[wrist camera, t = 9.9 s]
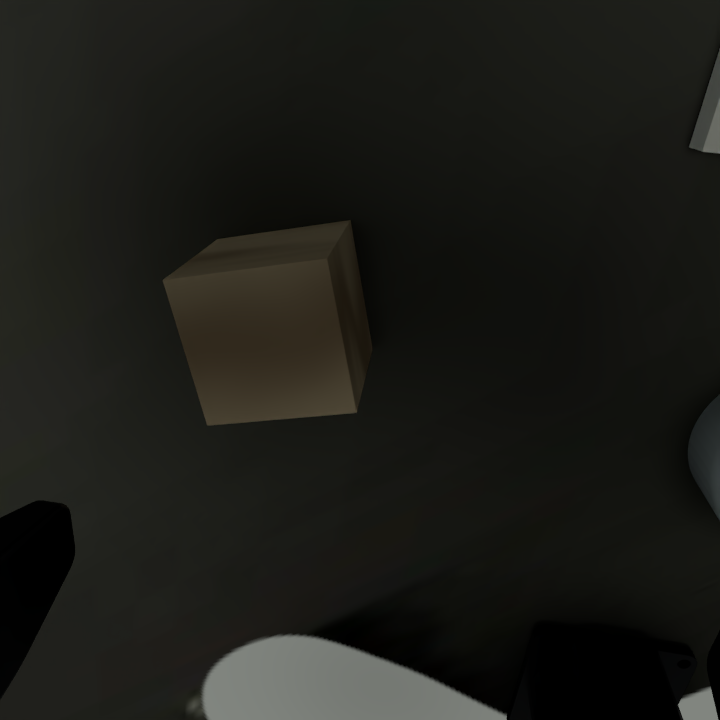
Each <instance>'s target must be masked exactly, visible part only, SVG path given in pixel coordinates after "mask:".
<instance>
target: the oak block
mask: <svg viewBox="0 0 720 720" xmlns="http://www.w3.org/2000/svg"><path fill="white" fill-rule="evenodd" d="M163 283H164V286H165V290H166V293H167V296H168V299H169V303H170V306H171V309H172V312H173V316H174V319H175V322H176V325H177V329H178V332H179V335H180V338H181V342H182V345H183V348H184V351H185V355H186V358H187V361H188V364H189V368H190V371H191V374H192V377H193V381H194V384H195V387H196V390H197V394H198V397H199V400H200V403H201V407H202V410H203V413H204V416H205V420H206V423H207V426H209V425H221V424H232V423H244V422H256V421H267V420H279V419H291V418H303V417H314V416H326V415H338V414H349V413H357V409H358V405H359V401H360V398H361V394H362V390H363V386H364V382H365V378H366V374H367V370H368V366H369V362H370V358H371V354H372V350H373V348H372V342H371V337H370V331H369V325H368V319H367V313H366V307H365V302H364V296H363V290H362V284H361V278H360V273H359V267H358V261H357V255H356V249H355V243H354V238H353V232H352V226H351V220H348V221H341V222H334V223H327V224H320V225H313V226H306V227H299V228H292V229H285V230H278V231H271V232H264V233H257V234H250V235H243V236H236V237H229V238H222V239H217V240H216V241H214V242H213V243H212V244H210V245H209V246H208V247H206V248H205V249H204V250H202V251H201V252H200V253H198V254H197V255H196V256H194V257H193V258H192V259H190V260H189V261H188V262H186V263H185V264H184V265H182V266H181V267H180V268H178V269H177V270H176V271H174V272H173V273H172V274H170V275H169V276H168V277H166V278H165V279H164V280H163Z"/></svg>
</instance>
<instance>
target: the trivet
mask: <svg viewBox="0 0 720 720" xmlns="http://www.w3.org/2000/svg"><path fill="white" fill-rule="evenodd" d="M689 147H690V148H693V149H696V150H699V151H702V152H711V153H720V49H719V53H718V56H717V59H716V62H715V65H714V69H713V72H712V75H711V78H710V81H709V85H708V88H707V91H706V94H705V97H704V101H703V104H702V107H701V110H700V113H699V117H698V120H697V123H696V126H695V129H694V133H693V136H692V139H691V142H690V145H689Z"/></svg>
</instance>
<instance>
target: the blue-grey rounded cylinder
mask: <svg viewBox="0 0 720 720" xmlns="http://www.w3.org/2000/svg"><path fill="white" fill-rule="evenodd" d="M688 462H689V467H690V470H691V473H692V476H693V478H694V479H695V481H696V483H697V484H698V486H699V488H700V489H701V491H702V493H703V494H704V496H705V497H706V499H707V501H708V502H709V504H710V506H711V507H712V509H713V511H714V512H715V514H716V516H717V517H718V519H719V520H720V394H719V395H718V396H717V397H716V398H715V399H714V400H713V401H712V402H711V403H710V404H709V405H708V406H707V408H706V409H705V410H704V411H703V412H702V414H701V415H700V417H699V418H698V420H697V422H696V424H695V426H694V428H693V430H692V433H691V436H690V439H689V445H688Z"/></svg>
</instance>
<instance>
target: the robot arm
mask: <svg viewBox="0 0 720 720" xmlns="http://www.w3.org/2000/svg"><path fill="white" fill-rule="evenodd" d="M74 556H75V543H74V535H73V528H72V521H71V514H70V510H69V508H68V507H67V506H66V505H64V504H62V503H56V502H49V501H43V500H41V501H35V502H32V503H30V504H28V505H26V506H24V507H22V508H20V509H17V510H15V511H13V512H11V513H9V514H7V515H5V516H3V517H1V518H0V699H1V698H2V696H3V695H4V693H5V691H6V690H7V688H8V687H9V685H10V683H11V682H12V680H13V678H14V677H15V675H16V673H17V672H18V670H19V668H20V667H21V665H22V663H23V661H24V659H25V657H26V655H27V653H28V652H29V650H30V648H31V646H32V644H33V642H34V640H35V638H36V636H37V634H38V632H39V630H40V628H41V626H42V624H43V622H44V620H45V618H46V616H47V614H48V612H49V610H50V608H51V606H52V604H53V602H54V600H55V598H56V596H57V594H58V592H59V590H60V588H61V586H62V584H63V582H64V580H65V578H66V576H67V574H68V572H69V570H70V568H71V566H72V563H73V560H74ZM696 667H697V661H696V658H695V656H694V654H693V652H692V651H691V650H690V649H689V648H685V647H680V646H674V645H668V644H662V643H656V642H650V641H644V640H638V639H632V638H626V637H620V636H614V635H608V634H602V633H596V632H590V631H584V630H578V629H572V628H566V627H560V626H554V625H547V624H543V625H539V626H537V627H536V628H535V629H534V630H533V633H532V636H531V639H530V642H529V646H528V649H527V652H526V655H525V659H524V662H523V665H522V668H521V672H520V675H519V678H518V681H517V685H516V688H515V691H514V694H513V697H512V701H511V704H510V707H509V710H508V714H507V720H683V718H682V715H681V712H680V710H679V707H678V704H679V702H680V700H681V698H682V695H683V693H684V691H685V689H686V687H687V685H688V683H689V681H690V679H691V677H692V675H693V673H694V671H695V669H696ZM707 671H708V676H709V681H710V685H711V689H712V694H713V698H714V702H715V706H716V711H717V715H718V719H719V720H720V631H719V633H718V635H717V637H716V639H715V641H714V643H713V645H712V647H711V649H710V651H709V654H708V659H707Z"/></svg>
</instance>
